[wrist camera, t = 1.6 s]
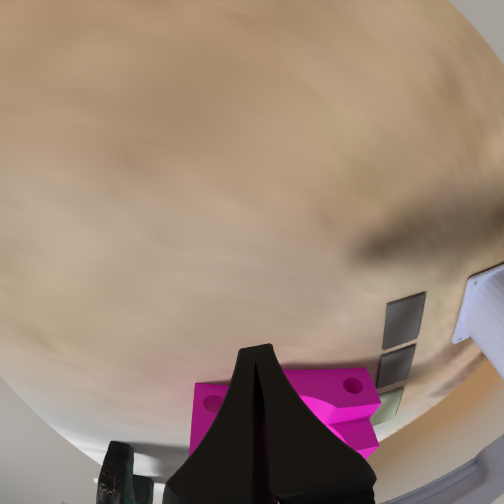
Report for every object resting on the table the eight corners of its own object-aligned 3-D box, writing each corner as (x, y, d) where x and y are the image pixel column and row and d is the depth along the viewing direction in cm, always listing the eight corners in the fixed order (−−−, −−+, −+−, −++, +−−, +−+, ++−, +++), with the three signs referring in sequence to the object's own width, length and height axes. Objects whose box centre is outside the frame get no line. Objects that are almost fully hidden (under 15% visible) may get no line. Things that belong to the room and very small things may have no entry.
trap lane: (423, 292, 20) (435, 306, 18) (382, 444, 33) (386, 454, 31) (162, 350, 21) (158, 368, 19) (245, 474, 33) (246, 485, 32)
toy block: (365, 365, 24) (393, 431, 17) (342, 404, 26) (360, 463, 19) (195, 362, 22) (188, 443, 15) (195, 404, 24) (190, 472, 18)
